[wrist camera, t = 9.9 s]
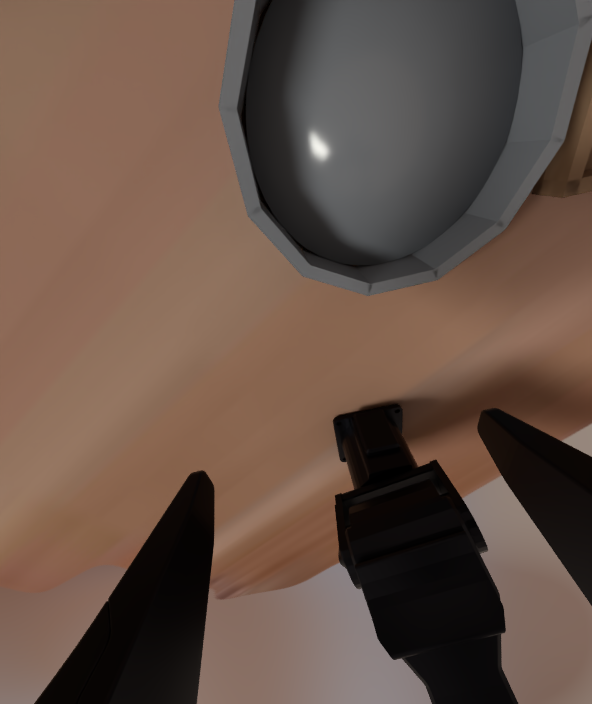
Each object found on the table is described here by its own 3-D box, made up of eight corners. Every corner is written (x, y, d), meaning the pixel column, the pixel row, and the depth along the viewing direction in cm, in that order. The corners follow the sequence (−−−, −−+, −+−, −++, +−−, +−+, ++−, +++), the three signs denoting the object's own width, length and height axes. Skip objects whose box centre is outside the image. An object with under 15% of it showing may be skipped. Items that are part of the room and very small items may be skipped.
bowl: (494, 244, 20) (533, 258, 17) (273, 295, 20) (275, 317, 17) (572, -169, 11) (675, -278, 8) (179, -65, 11) (153, -136, 9)
